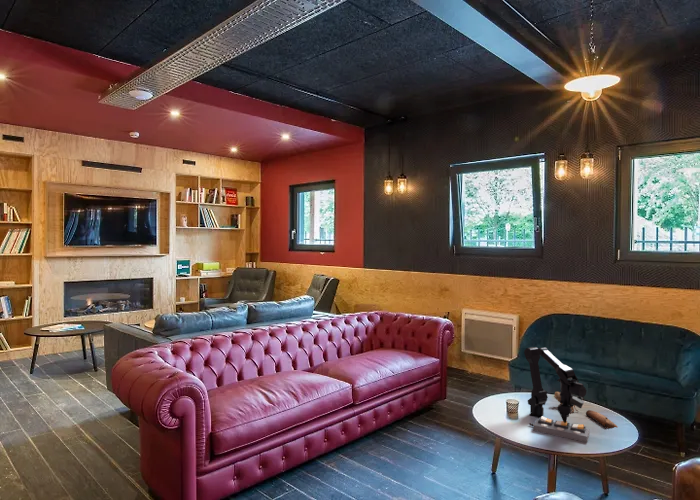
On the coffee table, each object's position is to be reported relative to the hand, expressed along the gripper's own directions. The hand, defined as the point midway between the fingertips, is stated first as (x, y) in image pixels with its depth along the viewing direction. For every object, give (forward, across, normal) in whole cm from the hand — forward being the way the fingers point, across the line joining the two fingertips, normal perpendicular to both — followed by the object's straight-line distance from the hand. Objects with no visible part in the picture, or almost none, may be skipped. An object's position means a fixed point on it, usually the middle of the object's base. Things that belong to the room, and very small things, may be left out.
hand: (566, 419), depth 246 cm
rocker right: (+1, -4, -6) cm, 8 cm away
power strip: (+5, -7, +3) cm, 9 cm away
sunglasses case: (+6, +22, -15) cm, 27 cm away
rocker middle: (+1, -4, +2) cm, 5 cm away
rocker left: (+1, -4, +10) cm, 11 cm away
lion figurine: (+5, +31, +5) cm, 32 cm away
